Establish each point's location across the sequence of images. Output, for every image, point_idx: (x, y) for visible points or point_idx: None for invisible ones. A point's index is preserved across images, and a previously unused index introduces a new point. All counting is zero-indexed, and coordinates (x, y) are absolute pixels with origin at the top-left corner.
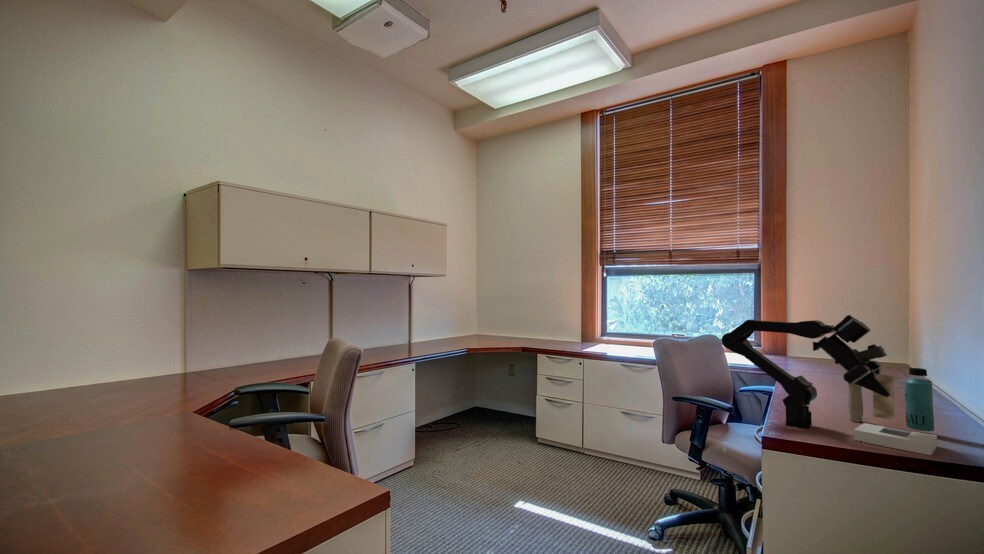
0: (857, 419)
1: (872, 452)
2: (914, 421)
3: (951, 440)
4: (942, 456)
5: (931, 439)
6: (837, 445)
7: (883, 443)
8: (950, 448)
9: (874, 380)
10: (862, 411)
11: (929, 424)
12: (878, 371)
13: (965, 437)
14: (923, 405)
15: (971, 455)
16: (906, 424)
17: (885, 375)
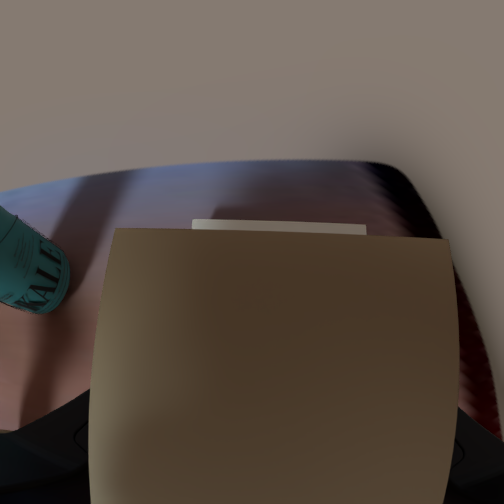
0: None
1: (462, 367)
2: (49, 285)
3: (89, 215)
4: (335, 218)
5: (285, 226)
6: None
7: None
8: (199, 208)
9: (493, 454)
10: (4, 432)
11: (53, 246)
12: (17, 494)
13: (42, 198)
14: (12, 229)
15: (247, 166)
16: (43, 313)
17: (234, 372)
